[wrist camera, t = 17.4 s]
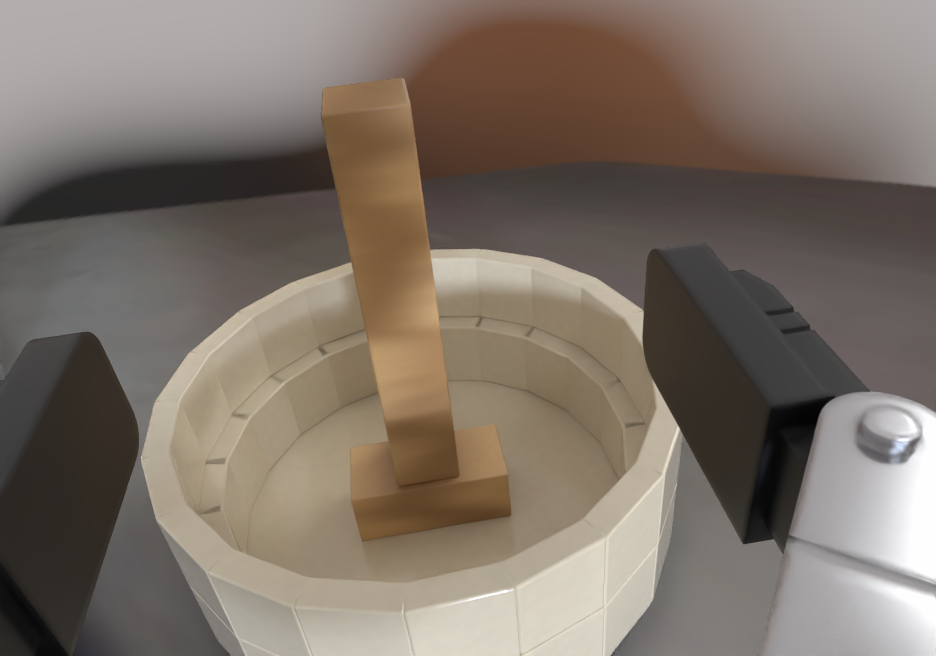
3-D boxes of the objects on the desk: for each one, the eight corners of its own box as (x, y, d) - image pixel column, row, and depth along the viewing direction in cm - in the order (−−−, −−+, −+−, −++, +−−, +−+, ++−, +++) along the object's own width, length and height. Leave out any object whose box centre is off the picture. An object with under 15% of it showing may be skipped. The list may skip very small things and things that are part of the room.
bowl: (508, 327, 34) (500, 210, 30) (775, 568, 22) (811, 425, 19) (167, 465, 29) (110, 342, 25) (289, 876, 17) (214, 755, 14)
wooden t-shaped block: (499, 464, 26) (463, 66, 18) (511, 516, 24) (478, 96, 16) (359, 487, 26) (260, 92, 18) (361, 541, 24) (250, 126, 16)
